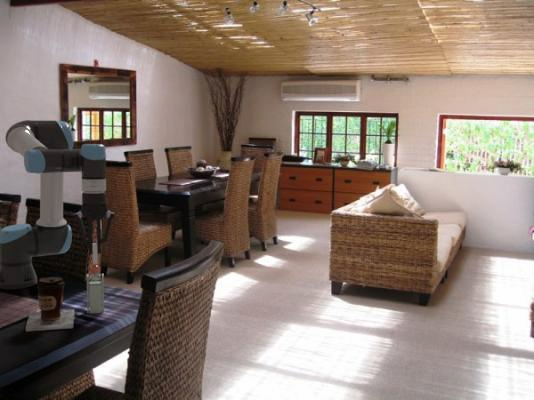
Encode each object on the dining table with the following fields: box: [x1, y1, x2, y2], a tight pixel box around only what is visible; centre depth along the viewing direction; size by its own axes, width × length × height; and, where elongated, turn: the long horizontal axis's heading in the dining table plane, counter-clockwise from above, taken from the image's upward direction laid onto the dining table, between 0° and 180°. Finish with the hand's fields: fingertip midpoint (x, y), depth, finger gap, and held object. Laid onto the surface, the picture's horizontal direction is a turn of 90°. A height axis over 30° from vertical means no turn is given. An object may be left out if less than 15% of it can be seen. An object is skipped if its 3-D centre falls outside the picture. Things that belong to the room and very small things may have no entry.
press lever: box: [89, 264, 102, 282], centre depth 195 cm, size 15×4×3 cm, turn 17°
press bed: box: [25, 308, 75, 332], centre depth 191 cm, size 14×14×2 cm
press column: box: [86, 273, 105, 314], centre depth 201 cm, size 4×6×13 cm
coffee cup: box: [36, 276, 66, 320], centre depth 189 cm, size 9×8×13 cm
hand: (95, 263), depth 191 cm, fingers closed
